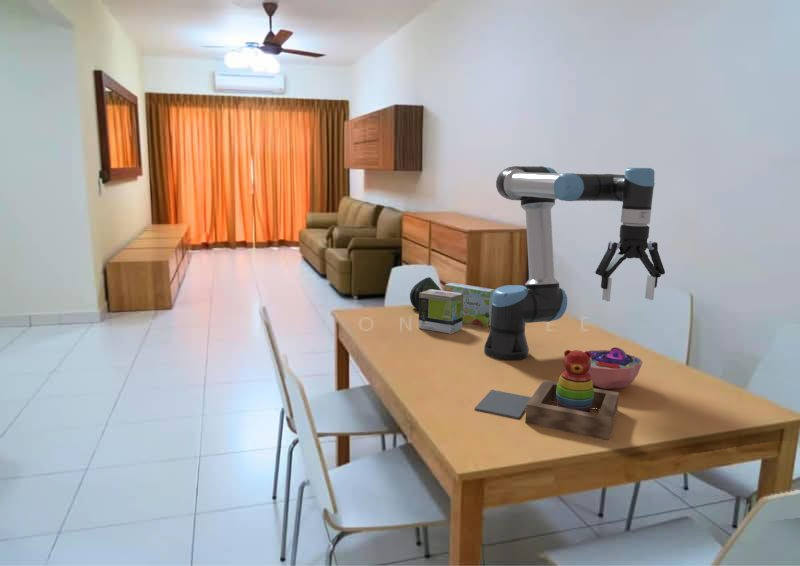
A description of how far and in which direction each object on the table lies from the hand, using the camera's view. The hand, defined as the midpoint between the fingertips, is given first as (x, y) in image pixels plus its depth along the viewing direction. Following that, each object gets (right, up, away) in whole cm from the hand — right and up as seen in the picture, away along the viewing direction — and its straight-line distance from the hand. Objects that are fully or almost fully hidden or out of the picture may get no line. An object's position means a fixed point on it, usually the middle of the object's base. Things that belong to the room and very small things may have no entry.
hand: (627, 299), depth 167 cm
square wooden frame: (-19, -30, -13) cm, 38 cm away
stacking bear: (-19, -30, -13) cm, 38 cm away
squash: (-53, -7, +99) cm, 112 cm away
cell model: (-3, -26, +10) cm, 28 cm away
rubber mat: (-36, -28, -6) cm, 46 cm away
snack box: (-36, -12, +79) cm, 87 cm away
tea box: (-49, -14, +67) cm, 84 cm away
